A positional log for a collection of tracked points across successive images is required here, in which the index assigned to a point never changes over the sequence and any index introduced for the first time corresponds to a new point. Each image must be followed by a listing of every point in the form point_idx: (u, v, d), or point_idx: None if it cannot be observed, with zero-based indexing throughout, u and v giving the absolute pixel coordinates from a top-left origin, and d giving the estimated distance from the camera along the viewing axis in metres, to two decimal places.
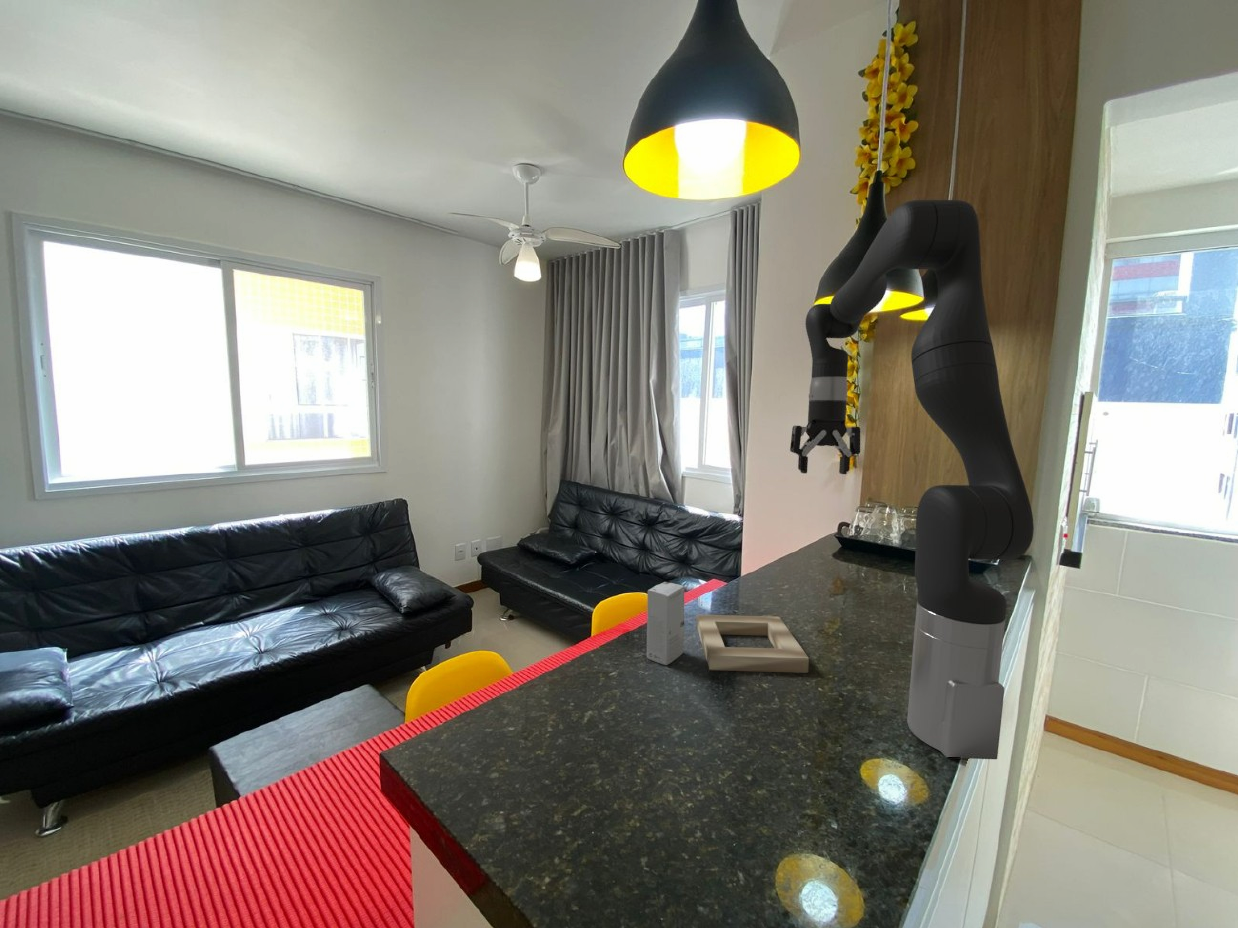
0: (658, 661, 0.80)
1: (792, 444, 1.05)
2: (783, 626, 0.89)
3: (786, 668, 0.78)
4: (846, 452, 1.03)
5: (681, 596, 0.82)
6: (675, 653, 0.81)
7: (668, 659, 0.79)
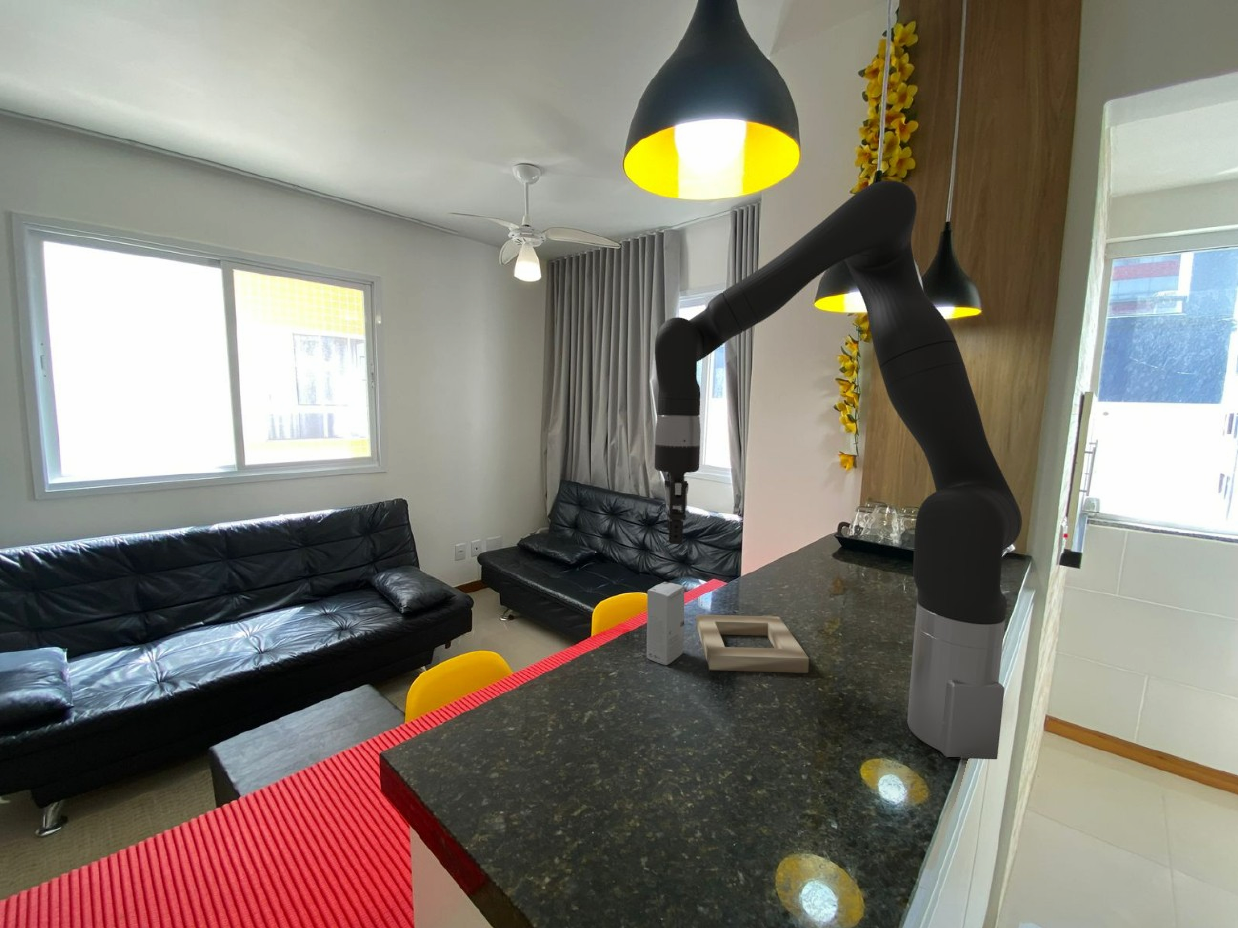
0: (658, 661, 0.80)
1: (672, 508, 0.74)
2: (783, 626, 0.89)
3: (786, 668, 0.78)
4: None
5: (681, 596, 0.82)
6: (675, 653, 0.81)
7: (668, 659, 0.79)
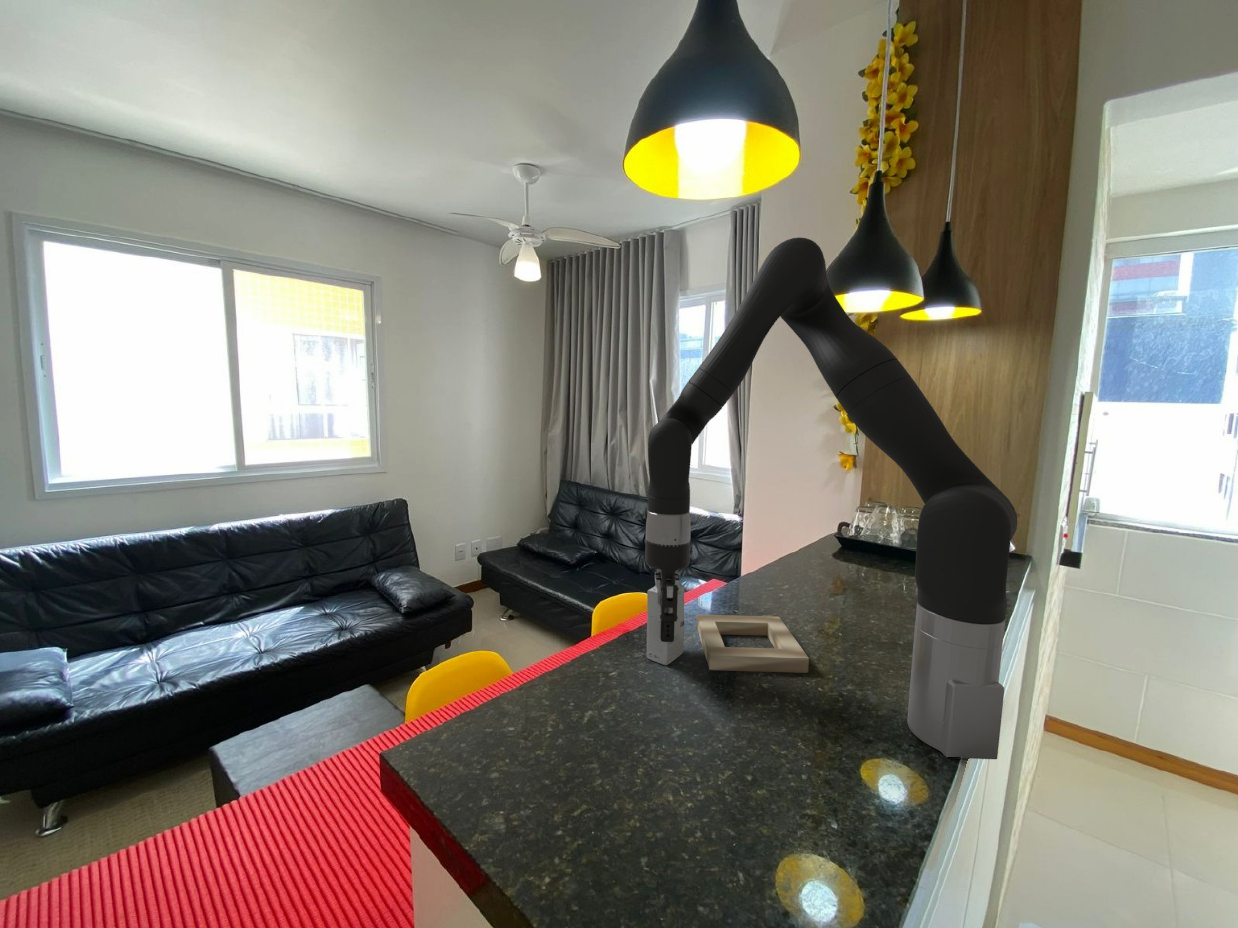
0: (658, 661, 0.80)
1: None
2: (783, 626, 0.89)
3: (786, 668, 0.78)
4: None
5: (681, 595, 0.82)
6: (675, 653, 0.81)
7: (668, 659, 0.79)
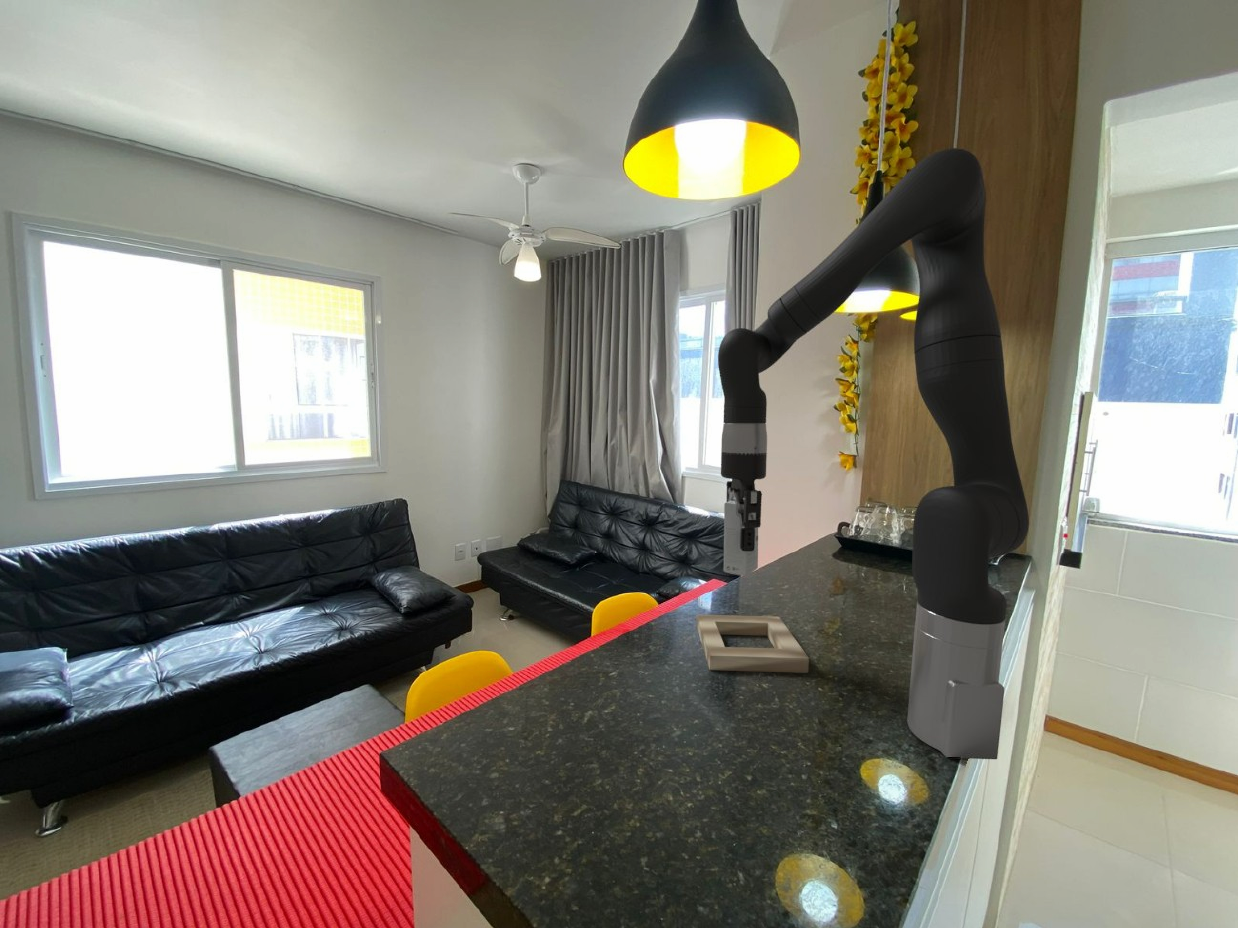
0: (737, 573, 0.80)
1: None
2: (783, 626, 0.89)
3: (786, 668, 0.78)
4: None
5: None
6: (752, 565, 0.81)
7: (747, 570, 0.80)
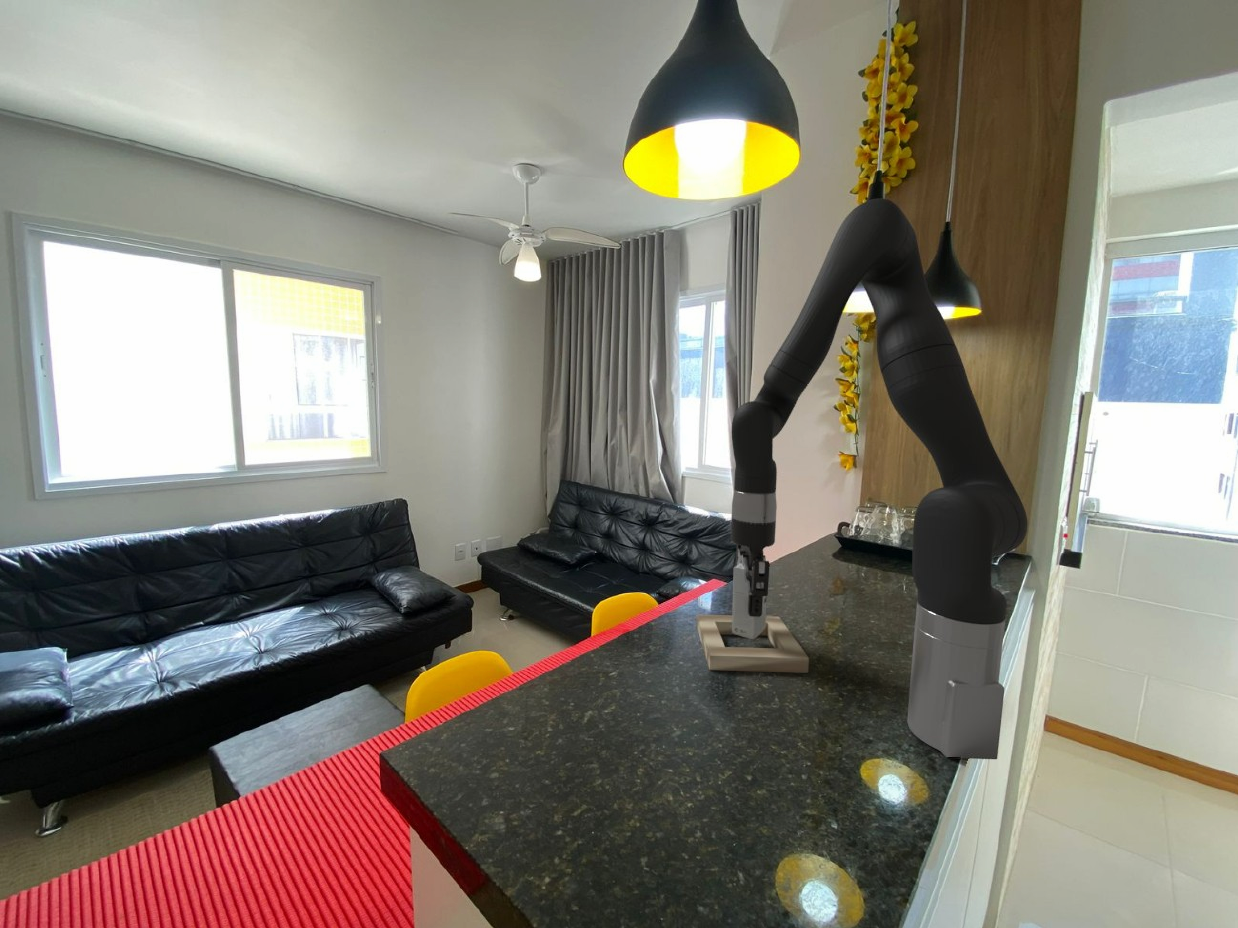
0: (744, 635, 0.83)
1: None
2: (783, 626, 0.89)
3: (786, 668, 0.78)
4: None
5: None
6: (760, 628, 0.84)
7: (755, 633, 0.82)
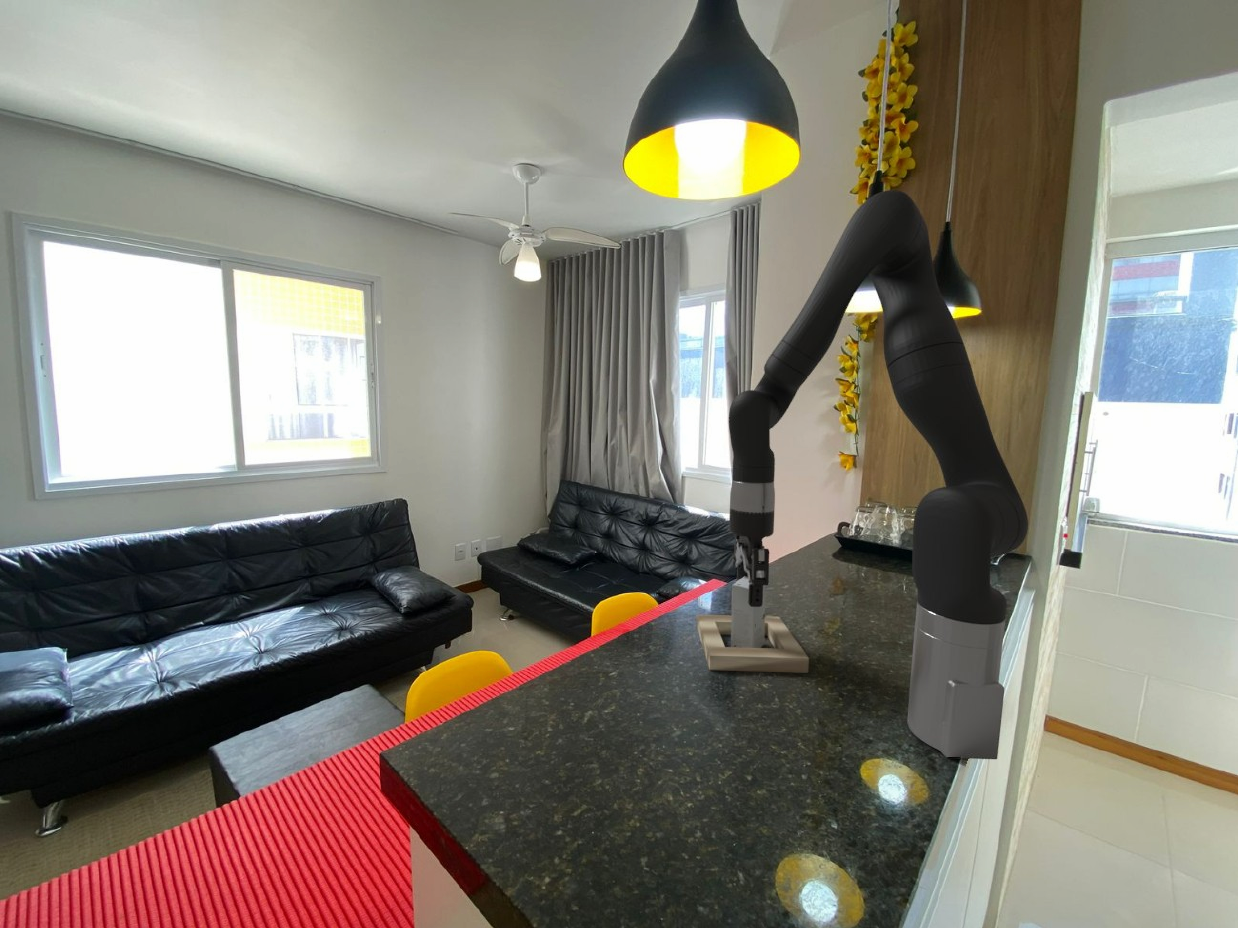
0: None
1: None
2: (783, 626, 0.89)
3: (786, 668, 0.78)
4: None
5: (763, 589, 0.85)
6: (758, 644, 0.84)
7: None
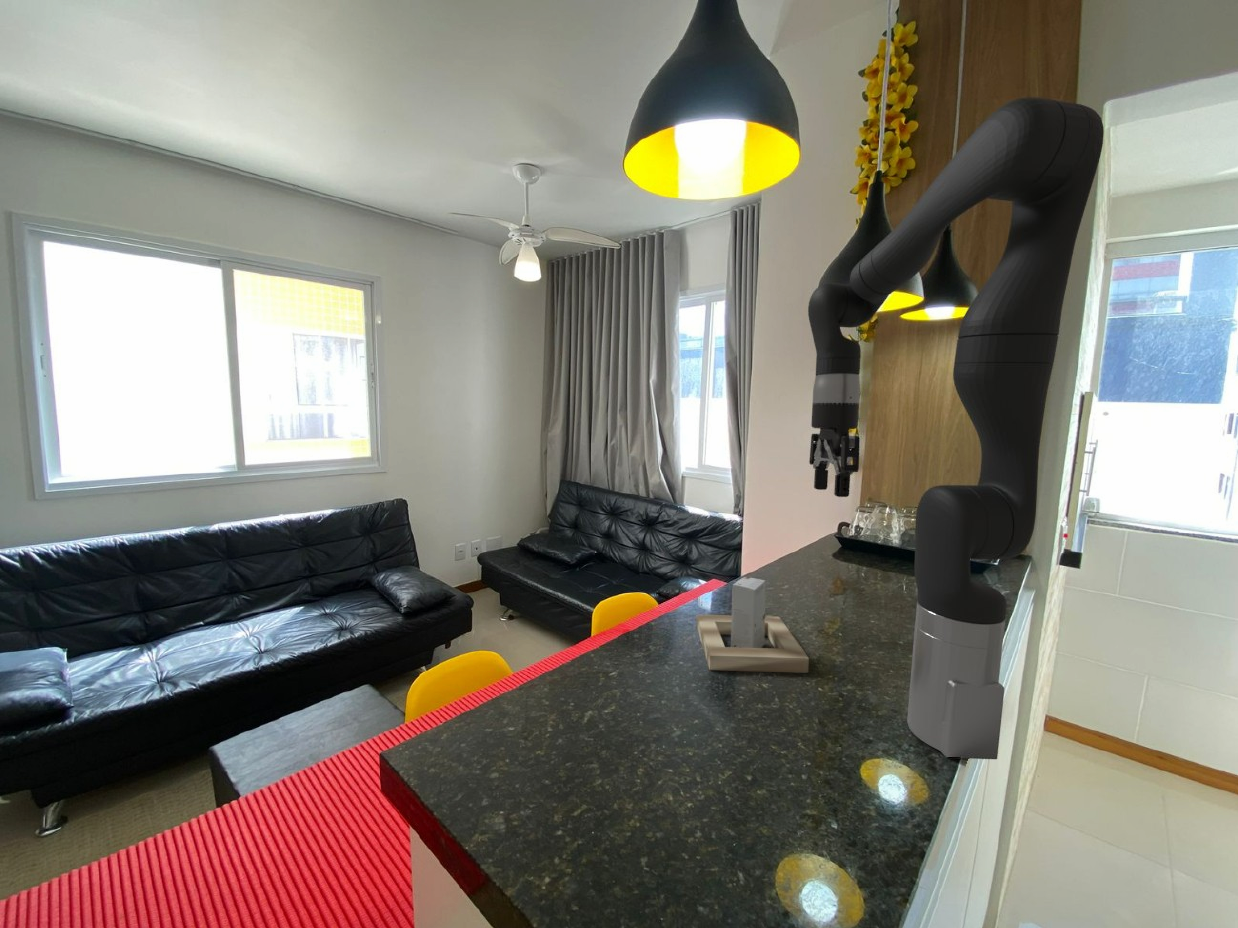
0: None
1: None
2: (783, 626, 0.89)
3: (786, 668, 0.78)
4: None
5: (763, 590, 0.85)
6: (758, 645, 0.84)
7: None
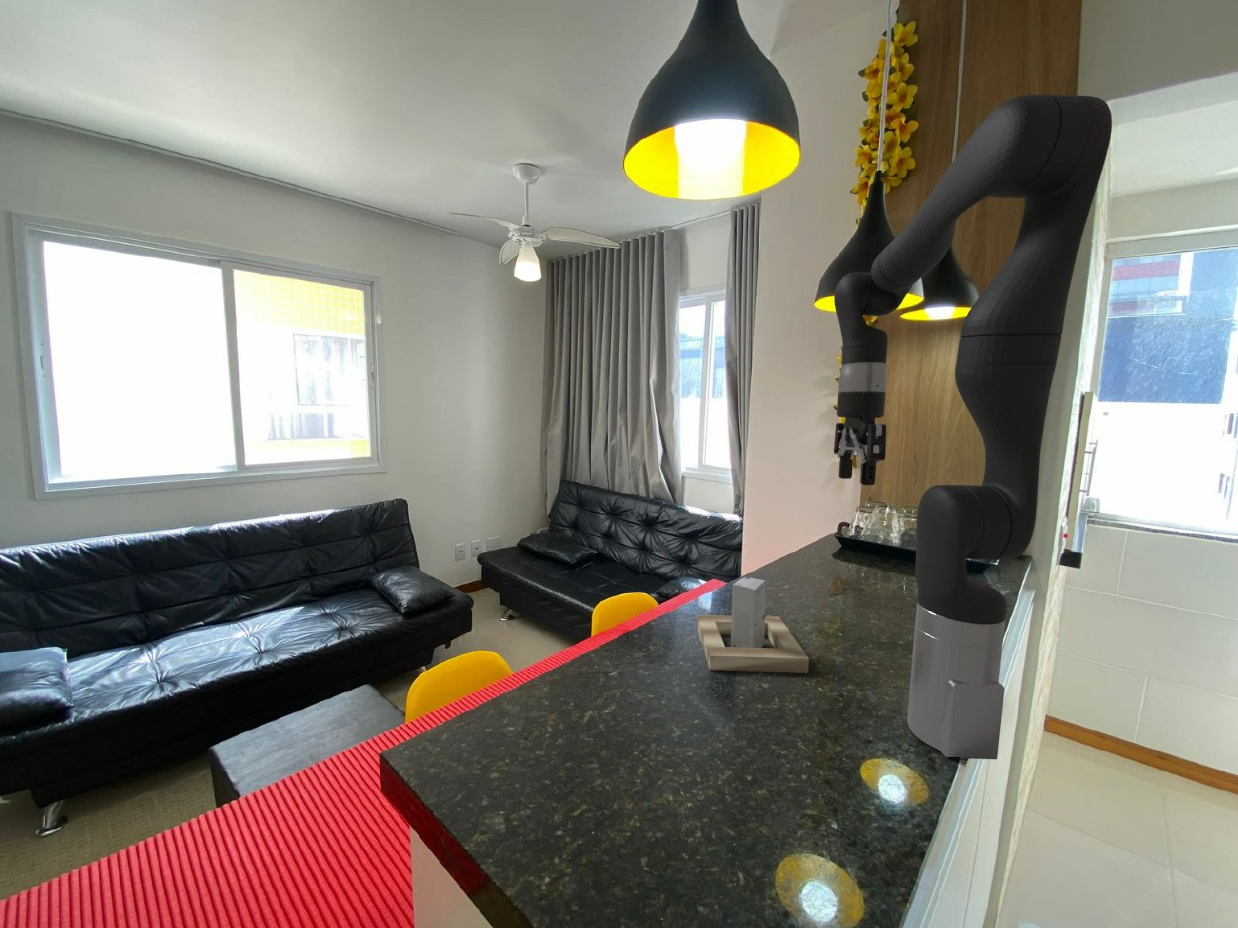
0: None
1: None
2: (783, 626, 0.89)
3: (786, 668, 0.78)
4: None
5: (763, 590, 0.85)
6: (758, 645, 0.84)
7: None
